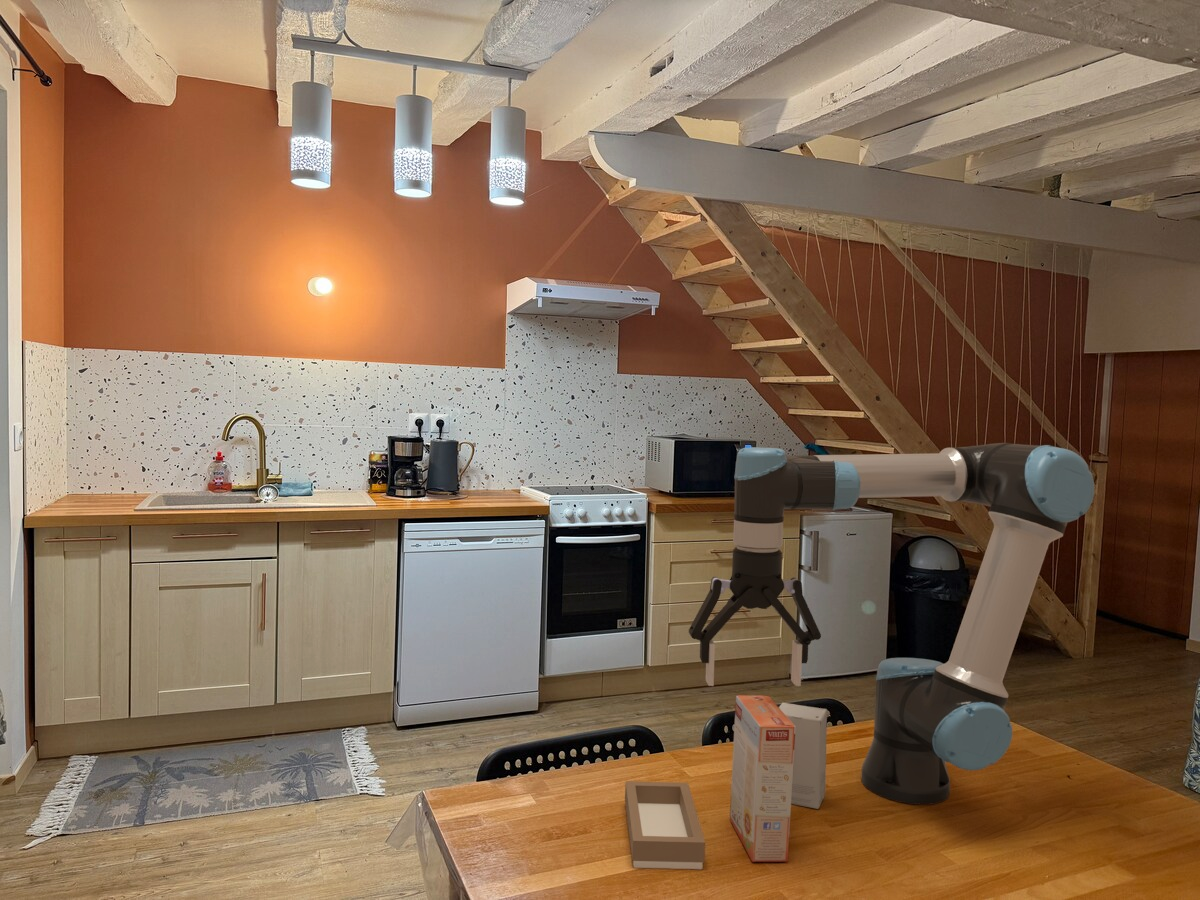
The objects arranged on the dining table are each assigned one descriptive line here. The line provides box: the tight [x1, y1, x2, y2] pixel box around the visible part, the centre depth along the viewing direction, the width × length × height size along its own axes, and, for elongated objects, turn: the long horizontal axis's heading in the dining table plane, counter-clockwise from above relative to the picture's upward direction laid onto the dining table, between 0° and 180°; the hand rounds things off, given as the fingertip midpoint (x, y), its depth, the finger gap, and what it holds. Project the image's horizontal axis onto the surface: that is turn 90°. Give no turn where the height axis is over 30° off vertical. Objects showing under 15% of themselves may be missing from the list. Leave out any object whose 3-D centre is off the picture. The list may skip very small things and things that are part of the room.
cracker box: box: [729, 694, 796, 863], centre depth 137 cm, size 14×6×21 cm, turn 5°
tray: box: [624, 780, 706, 870], centre depth 138 cm, size 10×20×4 cm, turn 2°
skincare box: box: [778, 702, 828, 810], centre depth 152 cm, size 8×7×16 cm
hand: (752, 683), depth 137 cm, fingers open, 13 cm apart
